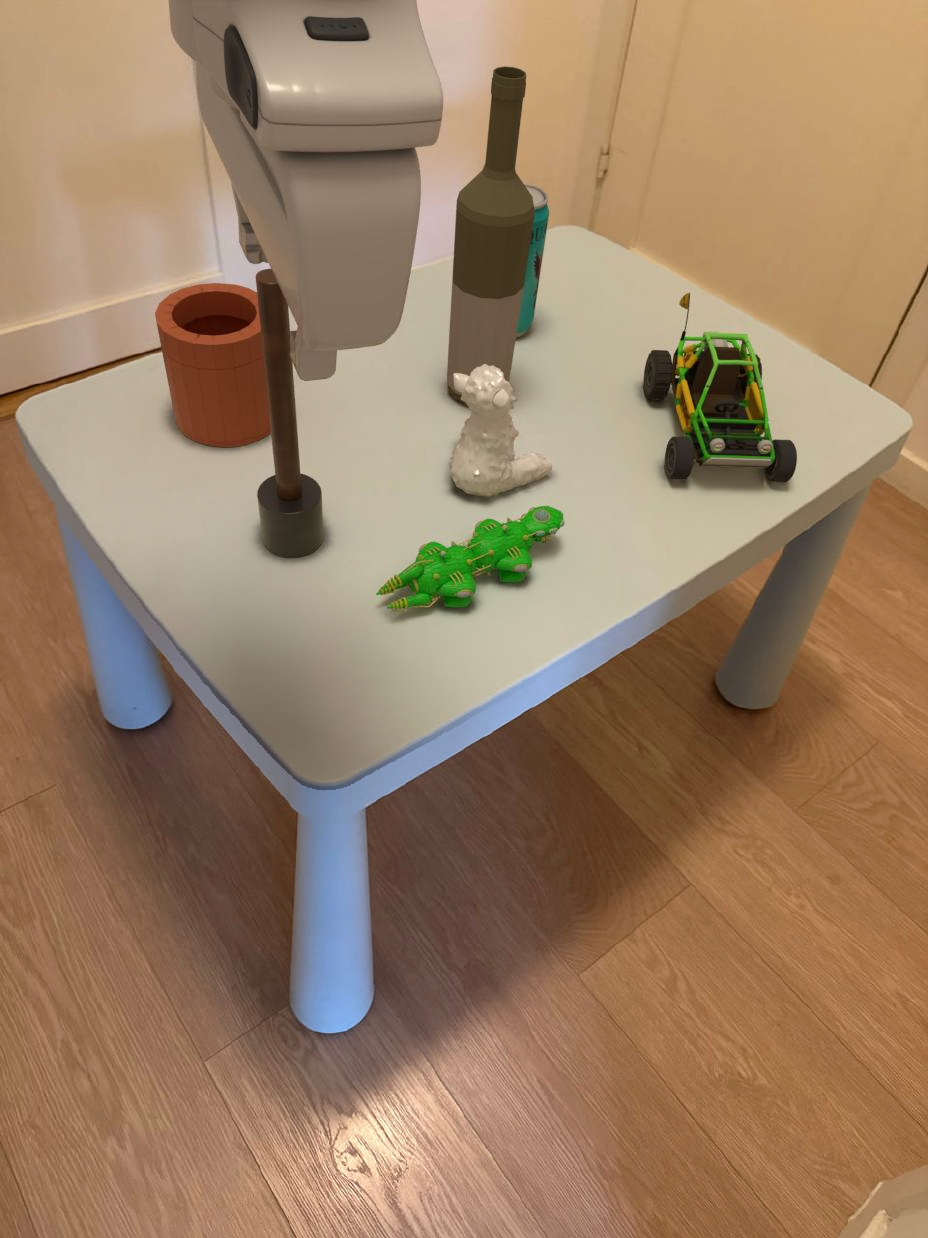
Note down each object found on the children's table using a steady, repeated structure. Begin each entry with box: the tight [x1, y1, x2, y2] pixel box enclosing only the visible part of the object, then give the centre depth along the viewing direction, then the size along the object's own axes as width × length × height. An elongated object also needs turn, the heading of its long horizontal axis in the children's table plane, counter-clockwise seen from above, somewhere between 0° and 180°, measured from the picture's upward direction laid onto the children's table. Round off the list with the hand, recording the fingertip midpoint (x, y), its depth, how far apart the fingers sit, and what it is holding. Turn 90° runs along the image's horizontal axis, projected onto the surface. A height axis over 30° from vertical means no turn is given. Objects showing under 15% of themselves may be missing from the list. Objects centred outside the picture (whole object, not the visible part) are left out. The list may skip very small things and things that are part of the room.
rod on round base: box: [255, 268, 325, 559], centre depth 70 cm, size 5×5×24 cm
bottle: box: [446, 66, 535, 404], centre depth 84 cm, size 7×7×30 cm
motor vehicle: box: [643, 292, 798, 483], centre depth 90 cm, size 12×19×11 cm, turn 3°
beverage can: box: [516, 183, 550, 339], centre depth 98 cm, size 6×6×15 cm
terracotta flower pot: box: [154, 282, 271, 448], centre depth 86 cm, size 10×10×11 cm
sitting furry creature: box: [448, 364, 553, 498], centre depth 82 cm, size 10×9×12 cm
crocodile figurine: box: [375, 505, 566, 611], centre depth 77 cm, size 7×18×4 cm, turn 124°
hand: (284, 310), depth 46 cm, fingers open, 8 cm apart
